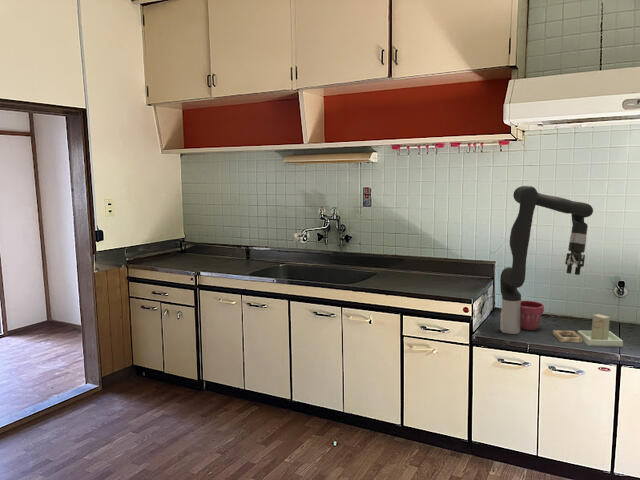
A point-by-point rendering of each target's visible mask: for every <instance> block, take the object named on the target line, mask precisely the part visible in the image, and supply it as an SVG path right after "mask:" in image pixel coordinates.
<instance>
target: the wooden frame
mask: <svg viewBox="0 0 640 480" xmlns="http://www.w3.org/2000/svg"><path fill="white" fill-rule="evenodd" d="M552 335H553V336H554V337H555V338H556V339H557V340H558V342H560V343H583V341H582V339H583V338H581V337H580V336H579V335H578V332H576V331H575V330H558V329H557V330H555V329H553V330H552Z"/></svg>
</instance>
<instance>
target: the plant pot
mask: <svg viewBox="0 0 640 480" xmlns="http://www.w3.org/2000/svg"><path fill="white" fill-rule="evenodd" d="M544 310H545V305H544V304H543V303H541V302H539V301H532V300H521V317H520V329H523V330H528V331H533V330H537V329H538V327H539V325H540V321H541V317H542V314H543V313H544Z"/></svg>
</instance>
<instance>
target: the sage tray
mask: <svg viewBox="0 0 640 480" xmlns="http://www.w3.org/2000/svg"><path fill="white" fill-rule="evenodd" d="M591 333H592V330H577V334H578V335H579V336H580V337H581V338H583V339H582V343H585V345H586V346H587V347H596V348H597V347H599V348H600V347H601V348H602V347H603V348H606V347H607V348H609V347H610V348H623V347H624V340H622V339H621V338H620V337H618V336H617V335H615V334H614V333H613V332H612V331H610V330H609V333H608V340H593V339H591Z"/></svg>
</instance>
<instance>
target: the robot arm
mask: <svg viewBox="0 0 640 480" xmlns="http://www.w3.org/2000/svg"><path fill="white" fill-rule="evenodd" d="M512 196H513V199H514V201H515V202H517V203H518V204H519V208H518V209H519V210H518V213H517V217H516V219H515V220H514V223H513V225H512V226H511V230H510V234H509V235H510V236H509V247H510V252H511V256H512V264H511V267H505V268H504V269H503V270H502V271H501V273H500V279H499V280H500V281H499V282H500V283H499V284H500V286H499V287H500V293H501V294H500V295H501V311H500V317H499V318H500V319H499V321H500V324H499V326H500V327H499V330H500V331H501V333H502V334H503V333H504V334H510V335H516V334H517V335H518V334H520V333H521V328H520V317H521V301H522V295H521V294H522V293H520V291H519V290H518V288H521V287H523V285H524V283H525V280H526V271H527V267H526V265H527V257H528V249H529V243H530V237H531V229H532V226H533V225H532V224H533V218H534V212H535V209H536V206H539V207H542V208H546V209H550V210H551V211H554V212H555V211H556V212H559V213H563V214H567V215H568V214H571V224H572V226H571V232H570V237H569V242H568V243H569V244H568V249H567V250H568V252H567V253H566V258H565V261H564V263H565V265H566V266H567V267H566V274H570V275H571V274H572V270H573V265H575V267H574V268H575V269H574V275H576V276H579V275H581V269H582V267H583V268H584V266H585V260H586V255H585V254H583V253H585V251H586V244H587V232H588V223H587V222H585V218H590V217H591V216H592V215H593V213H594V208H593V207H592V205H590V204H589V203H588V202H587V203H586V202H581V201H575V200H571V199H567V198H564V197H560V196H556V195H555V196H554V195H547V194H543V193H540V192H538V190H537V189H536V188H535V187H534V186H531V185H522V186H518V187H516V189H514V191H513V195H512Z"/></svg>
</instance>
